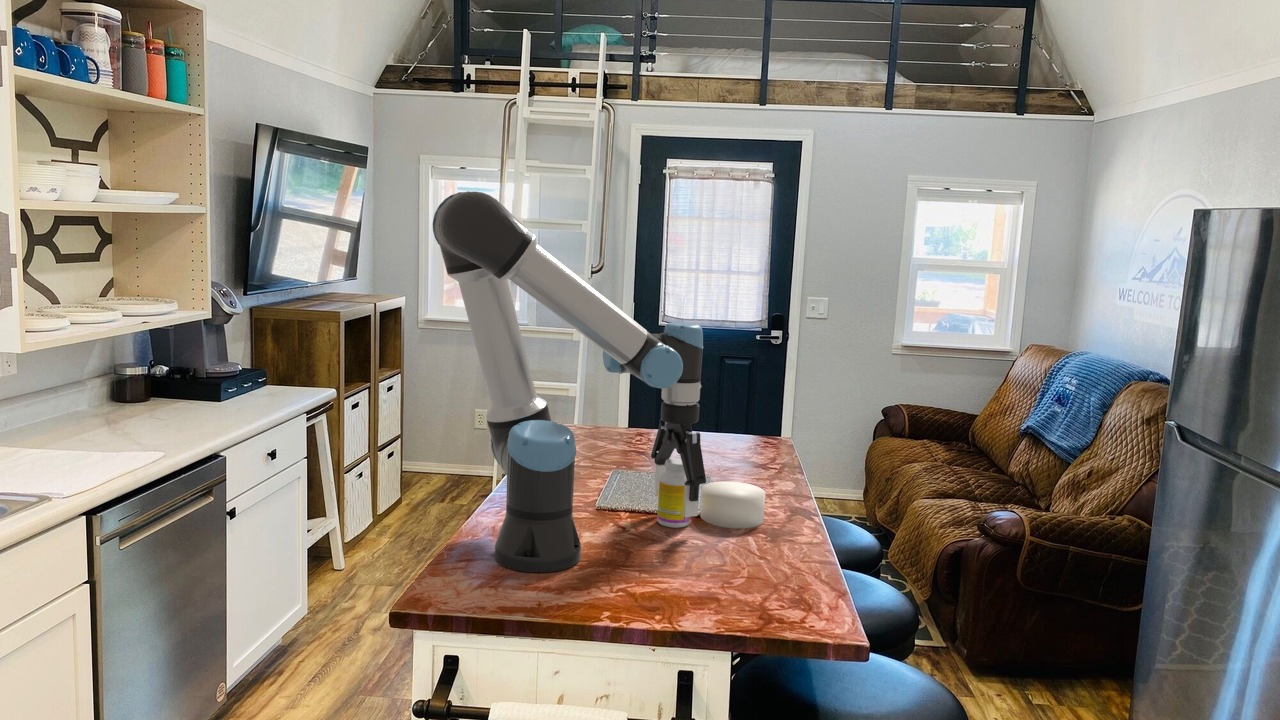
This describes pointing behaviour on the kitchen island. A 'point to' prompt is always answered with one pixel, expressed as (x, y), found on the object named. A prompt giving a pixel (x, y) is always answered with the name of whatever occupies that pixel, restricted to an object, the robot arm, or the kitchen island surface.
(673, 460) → the supplement bottle
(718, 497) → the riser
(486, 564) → the kitchen island surface
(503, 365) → the robot arm
